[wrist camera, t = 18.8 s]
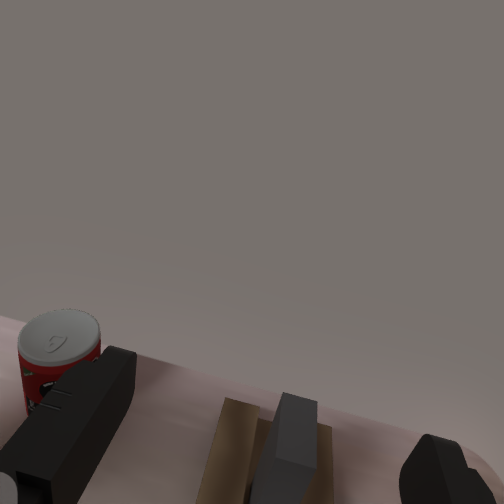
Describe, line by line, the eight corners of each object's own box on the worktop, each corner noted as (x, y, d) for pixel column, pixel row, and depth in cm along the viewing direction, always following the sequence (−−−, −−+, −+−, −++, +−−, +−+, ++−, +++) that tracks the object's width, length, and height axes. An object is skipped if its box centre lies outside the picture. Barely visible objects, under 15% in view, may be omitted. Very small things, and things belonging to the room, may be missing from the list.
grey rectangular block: (239, 551, 34) (275, 457, 27) (250, 484, 39) (283, 392, 32) (274, 561, 34) (319, 469, 27) (281, 493, 39) (319, 402, 32)
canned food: (18, 438, 40) (6, 363, 35) (35, 378, 46) (27, 308, 41) (96, 430, 42) (97, 359, 37) (102, 374, 49) (103, 307, 44)
